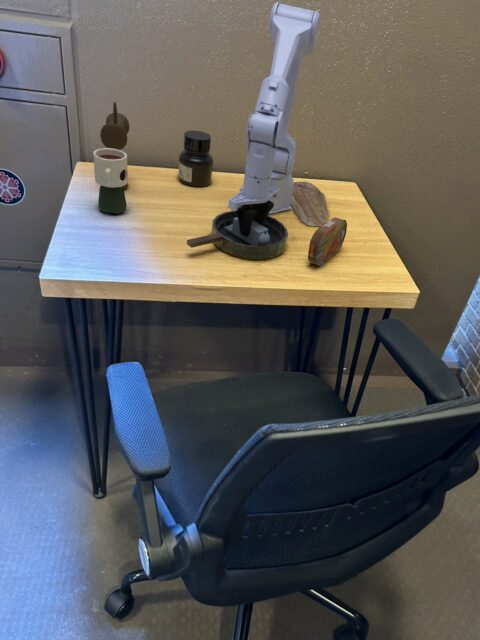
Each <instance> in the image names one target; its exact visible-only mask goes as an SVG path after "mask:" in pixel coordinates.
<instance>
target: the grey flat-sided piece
mask: <svg viewBox="0 0 480 640" xmlns="http://www.w3.org/2000/svg"><path fill="white" fill-rule="evenodd" d="M224 230H226V231H227V232H229V233H232V234H234V235H236V236H237V237H239V238H241V239H242V240H244V241H246V242H248V243H249V244H251V245H256V246H262V245H267V244H268V243H269V241H270V236H269V234H268V230H269V229H268V228H266V227H264V226H262V225H260V224H259V223H257V222H255V221H252V225H251V229H250V233H249V235H248V236H247V237H246V236H244V235H242V234H241V233H240V228H239V222H238V217H236V218H234V219H233V224H232V225H229V226H226V227H224Z"/></svg>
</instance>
